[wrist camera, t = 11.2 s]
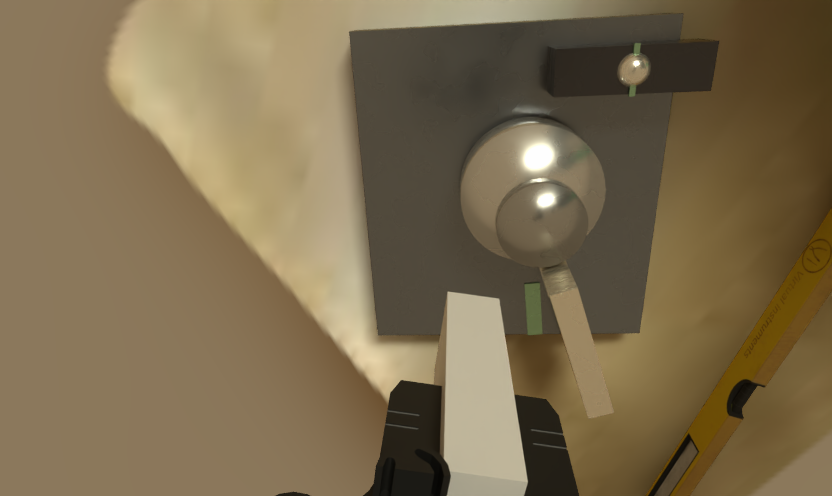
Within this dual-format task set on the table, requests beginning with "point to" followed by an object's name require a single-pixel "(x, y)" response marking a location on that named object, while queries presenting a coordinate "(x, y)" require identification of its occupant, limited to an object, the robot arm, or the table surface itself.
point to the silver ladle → (541, 222)
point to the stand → (490, 106)
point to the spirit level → (752, 366)
